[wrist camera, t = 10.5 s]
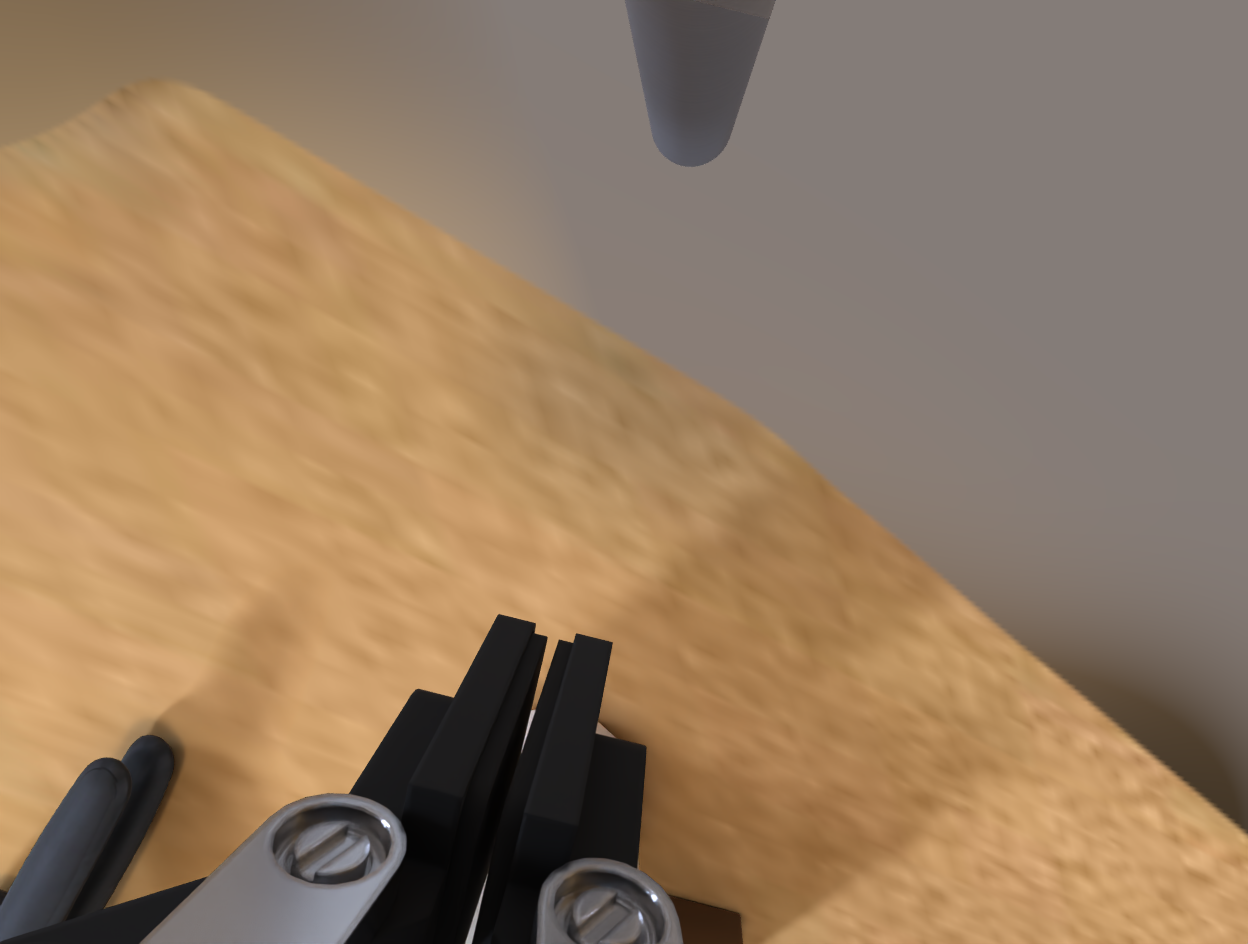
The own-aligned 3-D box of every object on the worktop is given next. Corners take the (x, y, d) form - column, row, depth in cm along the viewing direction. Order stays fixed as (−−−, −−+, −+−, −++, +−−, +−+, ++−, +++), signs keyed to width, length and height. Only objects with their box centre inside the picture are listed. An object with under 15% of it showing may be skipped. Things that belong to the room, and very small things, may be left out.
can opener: (74, 1043, 39) (-26, 1168, 33) (-58, 966, 38) (-181, 1081, 33) (245, 772, 35) (164, 864, 29) (101, 683, 34) (-9, 759, 29)
